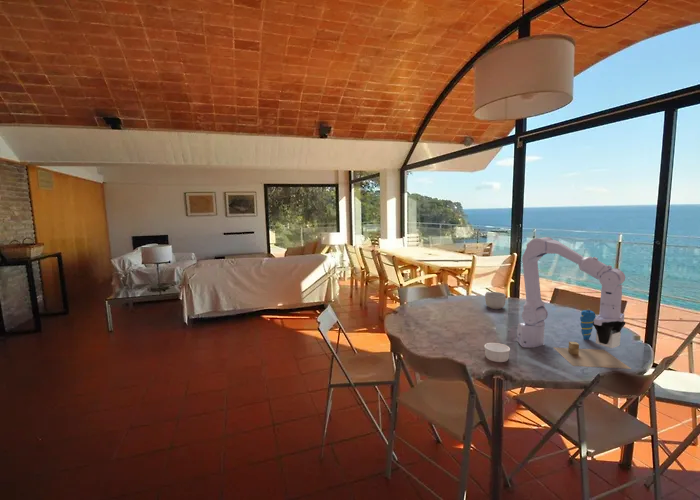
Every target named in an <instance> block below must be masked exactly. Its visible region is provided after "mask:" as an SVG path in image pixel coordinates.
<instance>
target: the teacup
mask: <svg viewBox="0 0 700 500" xmlns="http://www.w3.org/2000/svg"><path fill="white" fill-rule="evenodd" d="M484 296H485V297H484V298H485V300H484V301H485V305H486V306H487V307H488V308H489V309H493V310H501V309H503V308H504V307H505V305H506V301H507V300H506V298H507V297H506V296H507V295H506V294H505V293H503V292H498V291H486V292H485V293H484Z"/></svg>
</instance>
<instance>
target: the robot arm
mask: <svg viewBox="0 0 700 500" xmlns="http://www.w3.org/2000/svg"><path fill="white" fill-rule="evenodd" d="M549 254H557V255H559V256H560V257H563V258H564V259H567V260H568V261H571V262H573V263H575V264H576V265H578V268H579V270H580V271H582V272H584V273H586V274H587V275H589V276H591V277H592V278H594V279H596V280H598V281H599V283H600V284H601V290H600V302H599V314H598V315H597V316H596V317H595V319H594V322H593V328H594V329H595V332H596V331H597V334H598V338H599V342H600V343H603V344H607V343H608V339H609V335H610V332H611V330H612V329H613V330H616V331H620V332H622V329H623V328H624V326H625V325H626V322H625V313H622V311H621V310H622V299H623V298H622V295H623V283H625V281H626V275H625V273H624V272H623V271H622V270H620V268H617V267H616V268H614V267H613V266H612V265H611V264H609V265H607V264H605V263H604V262H602V261H600V260H599V257H596V256H594V257H592V256H591V255H590V256H583V255H581V254H579V253H578V252H577V251H575V250H573V249H572V248H570V247H568V246H566V245H565V244H563V243H562V242H560V241H559V240H557V239H553V238H552V237H549V236H544V237H540V238H538V237H537V238H532V239H531V240H529V242H527V244H526V248H525V250H524V253H523V254H522V257H521V259H522V260H521V261H522V268H523V280H524V290H525V302H524V303H523V307H522V308H523V311H522V314H521V317H522V321H523V322H519V323H517V327H516V328H517V331H516V335H517V336H516V342H517V343H518V344H519V346H521V348H530V349H531V348H532V349H533V348H536V347H540V346H544V345H545V343H544V342H545V320H546V319H547V318H548V316H549V313H548V310H547V309H546V306H545V302H544V301H543V299H542V295H541V294H542V292H541V284H540V275H539V264H538V263H539V262H538V261H540V260H541V259H542V258H543V256H545V255H549Z"/></svg>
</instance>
